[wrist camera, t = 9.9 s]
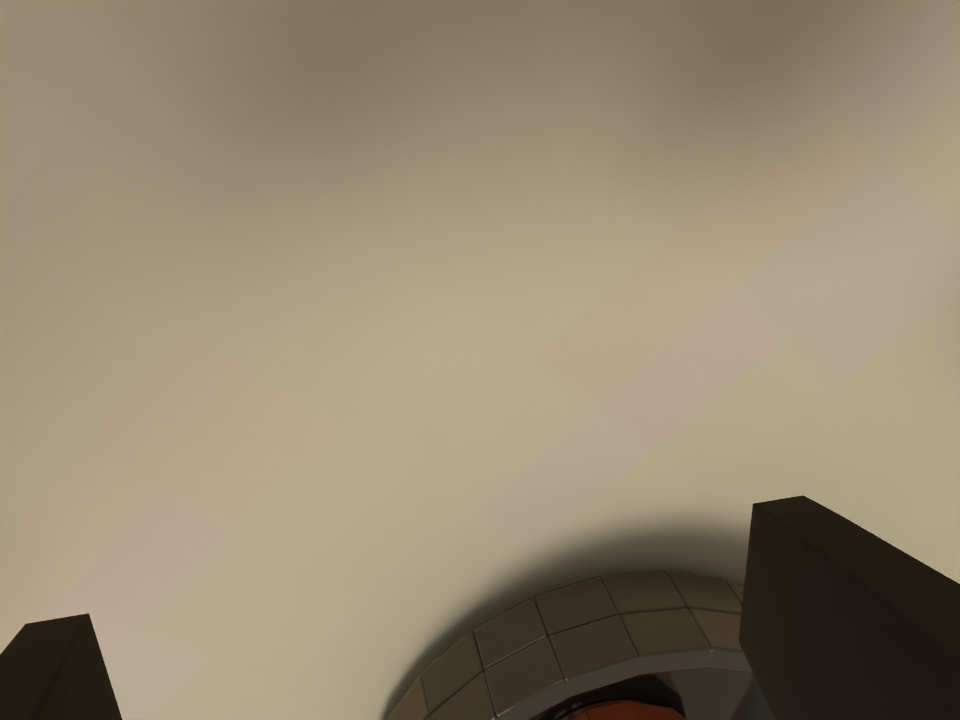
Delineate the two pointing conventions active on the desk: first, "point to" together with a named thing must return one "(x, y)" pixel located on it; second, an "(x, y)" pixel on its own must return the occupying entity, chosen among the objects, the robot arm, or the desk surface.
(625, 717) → the terracotta cup
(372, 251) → the desk surface
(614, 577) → the pan
